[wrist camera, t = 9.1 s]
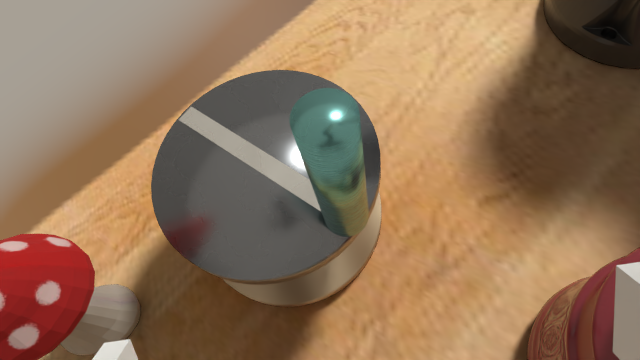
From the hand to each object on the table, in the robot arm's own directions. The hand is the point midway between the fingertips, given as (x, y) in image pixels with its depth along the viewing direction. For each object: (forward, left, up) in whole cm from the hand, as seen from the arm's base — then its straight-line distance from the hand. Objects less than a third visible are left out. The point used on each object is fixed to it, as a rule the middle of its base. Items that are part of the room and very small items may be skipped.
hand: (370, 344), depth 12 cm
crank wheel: (+5, -13, -19) cm, 24 cm away
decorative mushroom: (+22, -7, -23) cm, 33 cm away
